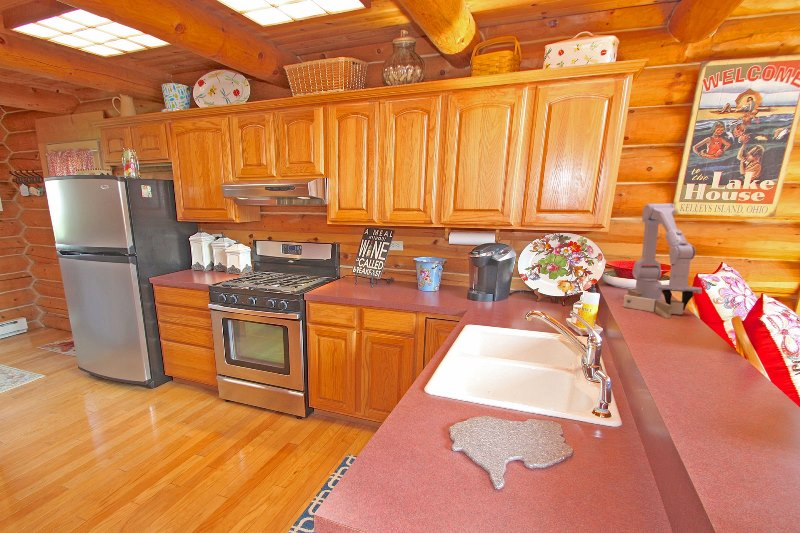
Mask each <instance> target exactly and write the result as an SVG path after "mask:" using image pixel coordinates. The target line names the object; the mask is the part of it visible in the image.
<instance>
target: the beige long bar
mask: <svg viewBox="0 0 800 533" xmlns="http://www.w3.org/2000/svg"><path fill="white" fill-rule="evenodd" d="M627 295H629V296H635V297H641V298H642V293H639V292H637V291H635V290H634V289H627ZM671 312H672V305H669V304H667V303H666V302H663V301H662V300H661V301H656V308H655V312H654V314H656V313H657V314H656V315H658V314H659V316H660V315H661V316H660V317H663V318H665V319H672V314H671Z"/></svg>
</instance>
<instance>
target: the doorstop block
mask: <svg viewBox="0 0 800 533" xmlns="http://www.w3.org/2000/svg"><path fill="white" fill-rule="evenodd" d="M670 305H672V312H671V315H672V314H673V315H683V313H684V310H683V306H684V303H683V302H682V300H672V299H671V302H670Z"/></svg>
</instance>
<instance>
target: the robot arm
mask: <svg viewBox="0 0 800 533" xmlns="http://www.w3.org/2000/svg"><path fill="white" fill-rule="evenodd" d="M675 211H676V208H675V205H674V204H673V203H672V202H669V203H663V202H662V203H651V202H650V203H649V202H648V203H646V204H645V206H643V208H642V217H641V218H642V220H641V221H642V222H643V223H644V229H643V230H644V231H643V242H642V252H641V253H642V255H641V258H640V259H639V260H636V261H635V262H634V265H633V268H632V272H631V273H632V276H633V278H634V279H635V282H636V283H635V290H634V291H637V292H639V293H642V298H648V299H654V300H659V301H662V299H661V298H662V295H663V297H664V299H665V303H667V304H669V305H670V302H671V300H672V297H673V296H672V295H673V294H672V292H681V301H682V302H683V303H684V306H683V311H685V310H686V308H687V304H688V303H689V301H691V299H692V298H693V296H694V293H695V294H702V293H703V291H702V290H703V289H702V287H697V286H690V285H689V284H688V283H689V277H690V276H689V274H690V266H691V260H693V259H694V257H695V256H696V248H695V246H694V245H693V244H691V243H689V242H688V241H687V238H686V236H685V235H684V233H683V231H682V230H680V229H678V228H677V224H676V221H675V218H674V215H675V213H676V212H675ZM660 224H661V225H662V227H663V229H664V230H665V232H666V233H665V236H664V237H665V240H666V242H667V244H668V246H669V251H668V257H669V264H670V273H669V282H668V284H662V283H661V281H660V280H659V279H660V278H661V276H662V268H661V267H662V266H661V263H660V262H659V261H658V260H656V255H657V254H656V253H657V245H658V244H657V243H658V233H659V225H660Z"/></svg>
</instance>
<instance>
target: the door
mask: <svg viewBox="0 0 800 533" xmlns="http://www.w3.org/2000/svg"><path fill="white" fill-rule="evenodd" d="M656 301H659V300H654V299H648V298H641V297H635V296H629V295H628V294H624V296H623V304H622V305H623V306H622V307H623V308H629V309H634V310H639V311H646V312H650V313H655V308H656Z"/></svg>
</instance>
